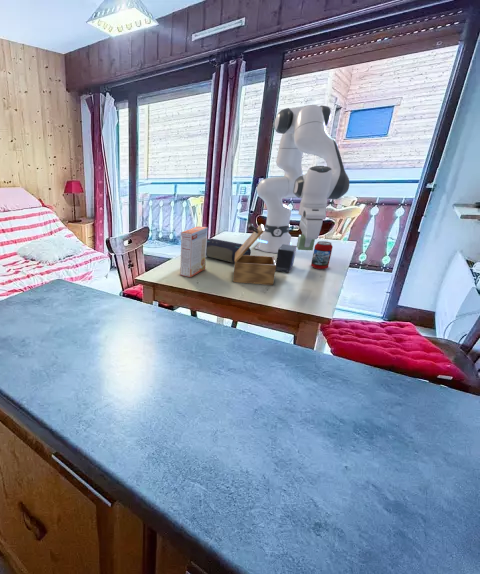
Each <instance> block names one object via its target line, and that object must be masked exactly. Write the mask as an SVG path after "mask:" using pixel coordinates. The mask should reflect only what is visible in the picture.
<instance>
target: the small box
mask: <svg viewBox="0 0 480 574" xmlns="http://www.w3.org/2000/svg"><path fill="white" fill-rule="evenodd" d="M296 252H297V245H291V244H290V245H286V244H282V245H281V247H280V248H279V249H278V253H276V254H277V255H276V258H275V259H276V260H275V263H276V270H275V272H282V273H290V271H291V270H292V268H293V266H294V264H295V263H294V262H295V257H296V254H297V253H296Z"/></svg>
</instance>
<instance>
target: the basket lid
mask: <svg viewBox="0 0 480 574" xmlns="http://www.w3.org/2000/svg"><path fill="white" fill-rule="evenodd" d="M247 227H248V230H249V231H253V232H252V233H251V234H250V235H249V237H248V238H247V239H246V240H245V241H244V242H243V243H242V244H243V245H242V246H241V247H240V248H239V249H238V250H237V251H236V253H235V262H237V261H238V260H239V258H240V257H241V256H242V255H243V254H244V253H245V252H246V251H247V250H248V249H249V248H251V247H252V246H253V244H254V243H255V242H256V241H257V240H259V236H261V234H262V233H264V231H265V230H264V224H262V223H260V224H259V225H258V226H257V227H256V226H254V224H253V223H251V222H249V223H248V225H247Z"/></svg>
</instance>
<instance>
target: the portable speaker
mask: <svg viewBox="0 0 480 574" xmlns="http://www.w3.org/2000/svg"><path fill="white" fill-rule="evenodd" d="M243 244H244V243H238V242H233V241H227V240H224V239H223V240H222V239H217V238H207V245H206V258H212V259H215V260H219V261H224V262H228V263H233V264H235V253H236V251H237V250H238V249H239V248H240V247H241V246H242V245H243ZM243 255H252V251H251V247H249V249H248V250H247V251H246V252H245V253H244V254H243Z"/></svg>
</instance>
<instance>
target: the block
mask: <svg viewBox="0 0 480 574" xmlns="http://www.w3.org/2000/svg"><path fill="white" fill-rule="evenodd" d="M305 238H306V237H305V236H304V235H302V234H298V237H297V242H296V246H297V247H296V249H297V250H298V251H314V247H315V242H316V239H312V241H311V243H310V246H309V247H304V242H305Z"/></svg>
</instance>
